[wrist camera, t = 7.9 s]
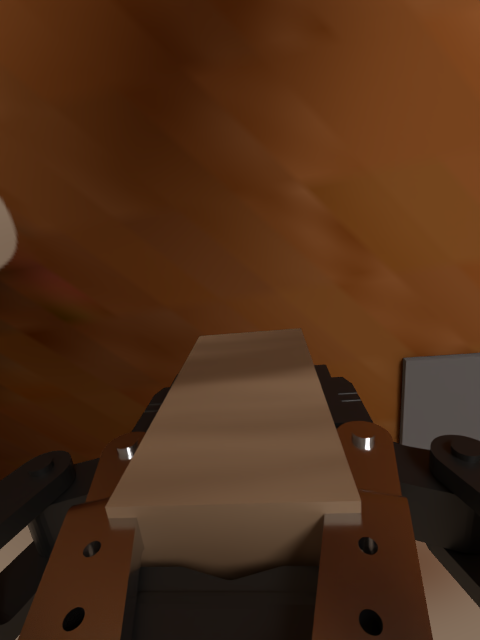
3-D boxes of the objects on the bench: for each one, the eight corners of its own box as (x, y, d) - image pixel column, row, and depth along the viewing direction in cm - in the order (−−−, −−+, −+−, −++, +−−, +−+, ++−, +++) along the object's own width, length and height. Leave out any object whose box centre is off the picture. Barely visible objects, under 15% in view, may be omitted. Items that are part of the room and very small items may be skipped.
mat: (403, 358, 19) (406, 360, 19) (512, 350, 18) (517, 353, 18) (398, 456, 21) (401, 460, 21) (497, 452, 20) (501, 457, 20)
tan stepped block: (194, 336, 13) (93, 507, 5) (306, 328, 12) (375, 500, 5) (226, 543, 16) (193, 839, 8) (316, 542, 16) (368, 853, 8)
